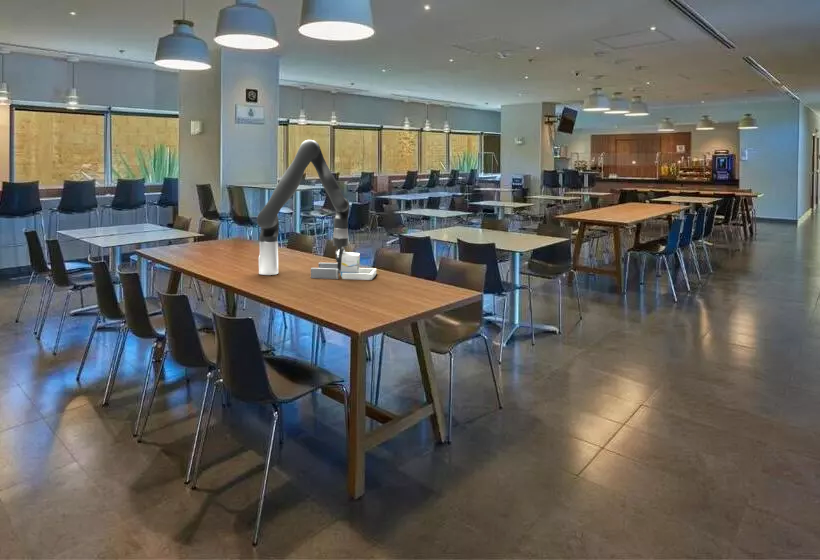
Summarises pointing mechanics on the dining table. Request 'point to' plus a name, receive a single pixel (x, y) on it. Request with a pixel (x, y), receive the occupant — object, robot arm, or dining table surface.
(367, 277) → the tray frame
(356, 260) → the ink box
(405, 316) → the dining table surface
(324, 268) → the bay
